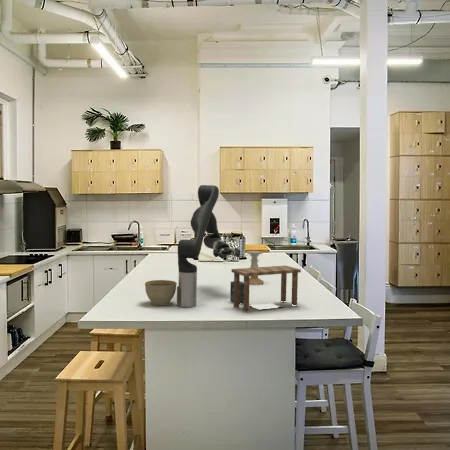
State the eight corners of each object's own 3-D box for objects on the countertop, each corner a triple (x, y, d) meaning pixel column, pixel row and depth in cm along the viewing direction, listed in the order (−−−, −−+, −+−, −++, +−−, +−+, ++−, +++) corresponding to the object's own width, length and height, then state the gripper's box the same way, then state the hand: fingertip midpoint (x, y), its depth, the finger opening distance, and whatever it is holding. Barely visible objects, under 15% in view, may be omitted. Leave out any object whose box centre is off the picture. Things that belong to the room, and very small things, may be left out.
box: (230, 301, 266) (230, 281, 265) (239, 300, 269) (239, 280, 268) (237, 304, 259) (237, 284, 258) (246, 303, 262) (247, 283, 261)
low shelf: (244, 312, 242) (245, 273, 240) (230, 306, 254) (231, 269, 253) (299, 306, 256) (300, 269, 255) (284, 301, 269) (285, 265, 267)
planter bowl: (145, 307, 249) (145, 286, 248) (144, 300, 265) (144, 280, 264) (178, 306, 252) (178, 285, 251) (174, 299, 268) (175, 279, 267)
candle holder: (240, 282, 321) (241, 250, 320) (257, 281, 327) (257, 250, 326) (250, 285, 311) (251, 253, 309) (267, 284, 316) (268, 252, 315)
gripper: (209, 242, 280) (218, 250, 266) (233, 240, 285) (243, 248, 270) (209, 255, 282) (218, 264, 267) (233, 253, 287) (243, 261, 272)
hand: (230, 256), depth 269 cm, fingers open, 8 cm apart
